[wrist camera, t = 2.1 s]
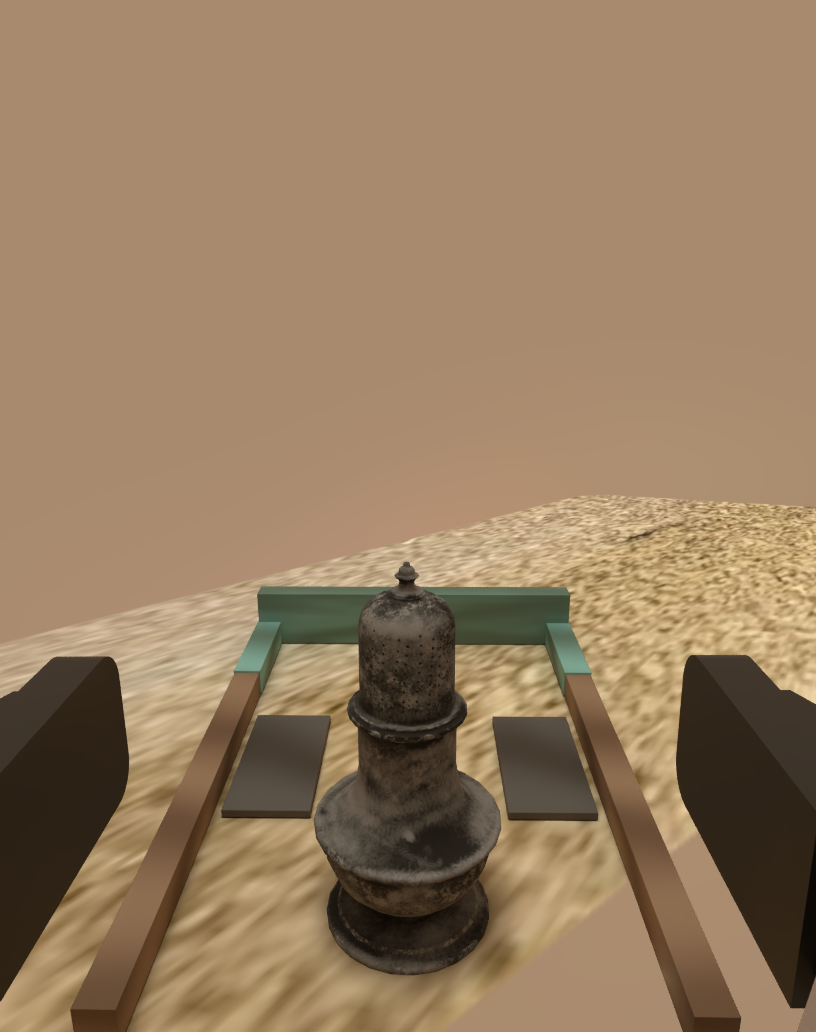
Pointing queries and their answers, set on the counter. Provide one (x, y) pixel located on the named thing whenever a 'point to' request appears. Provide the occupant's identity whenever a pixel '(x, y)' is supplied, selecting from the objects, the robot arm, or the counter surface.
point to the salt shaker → (407, 798)
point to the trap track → (296, 766)
